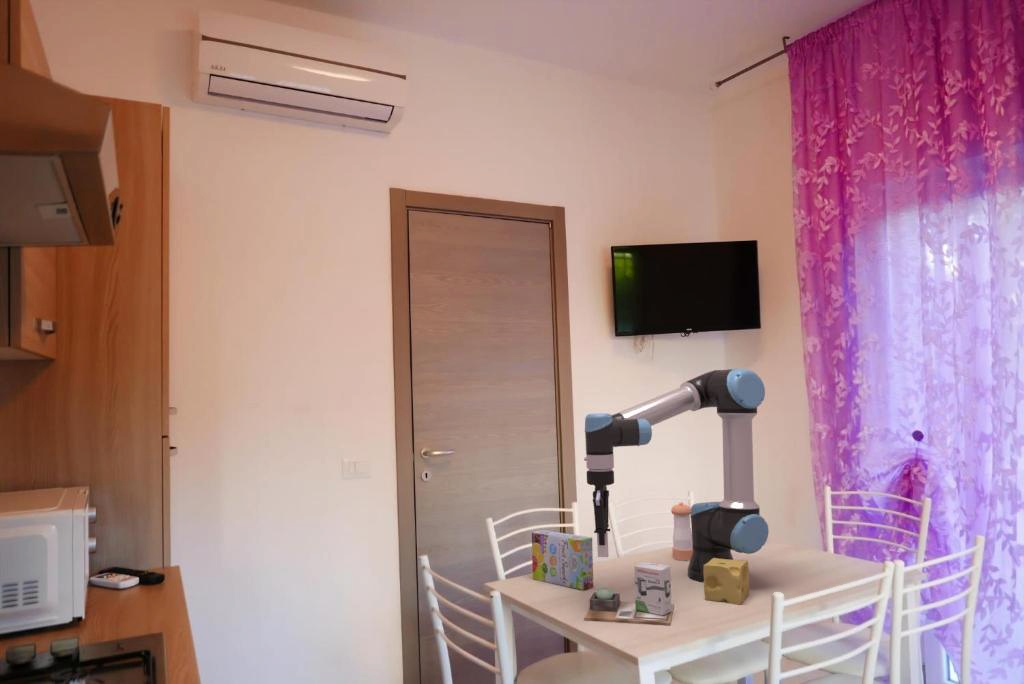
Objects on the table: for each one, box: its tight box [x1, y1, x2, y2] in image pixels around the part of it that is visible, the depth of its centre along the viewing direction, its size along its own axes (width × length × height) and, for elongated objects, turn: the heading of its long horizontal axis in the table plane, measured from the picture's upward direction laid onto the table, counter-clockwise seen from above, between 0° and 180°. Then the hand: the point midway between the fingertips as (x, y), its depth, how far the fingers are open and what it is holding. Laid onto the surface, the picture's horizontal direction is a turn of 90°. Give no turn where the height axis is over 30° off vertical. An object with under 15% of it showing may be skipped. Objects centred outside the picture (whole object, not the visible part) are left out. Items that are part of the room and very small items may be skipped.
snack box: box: [531, 529, 594, 591], centre depth 224 cm, size 21×6×15 cm, turn 45°
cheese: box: [703, 558, 750, 606], centre depth 204 cm, size 10×11×10 cm
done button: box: [596, 587, 614, 600], centre depth 196 cm, size 4×4×3 cm
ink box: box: [634, 561, 672, 615], centre depth 191 cm, size 9×5×12 cm, turn 50°
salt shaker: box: [670, 502, 693, 561], centre depth 251 cm, size 7×7×19 cm
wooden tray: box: [583, 592, 675, 626], centre depth 192 cm, size 22×16×3 cm
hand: (603, 556), depth 197 cm, fingers closed
